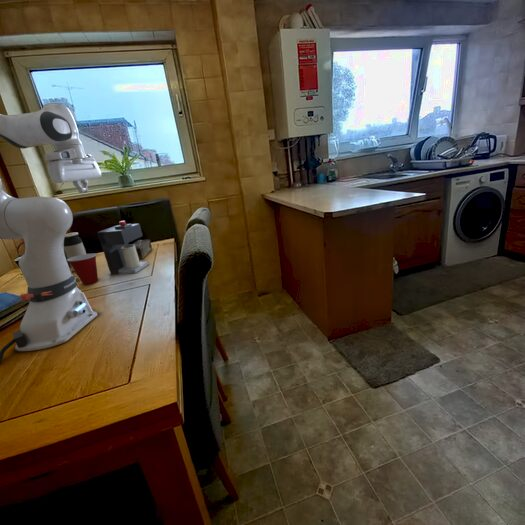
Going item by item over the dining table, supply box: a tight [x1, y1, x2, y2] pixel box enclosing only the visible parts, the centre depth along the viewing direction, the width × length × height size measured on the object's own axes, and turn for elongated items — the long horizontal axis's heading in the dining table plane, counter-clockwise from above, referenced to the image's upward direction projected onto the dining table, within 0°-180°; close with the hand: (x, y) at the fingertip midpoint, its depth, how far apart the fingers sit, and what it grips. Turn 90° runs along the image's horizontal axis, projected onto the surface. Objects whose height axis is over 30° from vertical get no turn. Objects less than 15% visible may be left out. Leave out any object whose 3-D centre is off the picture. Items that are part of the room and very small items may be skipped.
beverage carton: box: [131, 239, 153, 260], centre depth 151 cm, size 8×19×7 cm, turn 6°
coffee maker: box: [97, 223, 149, 276], centre depth 128 cm, size 13×12×21 cm
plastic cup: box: [67, 253, 99, 286], centre depth 119 cm, size 11×11×12 cm
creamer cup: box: [121, 244, 141, 268], centre depth 129 cm, size 6×6×10 cm
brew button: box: [118, 220, 127, 225], centre depth 123 cm, size 2×2×2 cm
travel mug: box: [64, 232, 87, 272], centre depth 137 cm, size 8×8×18 cm
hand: (84, 192), depth 107 cm, fingers closed
